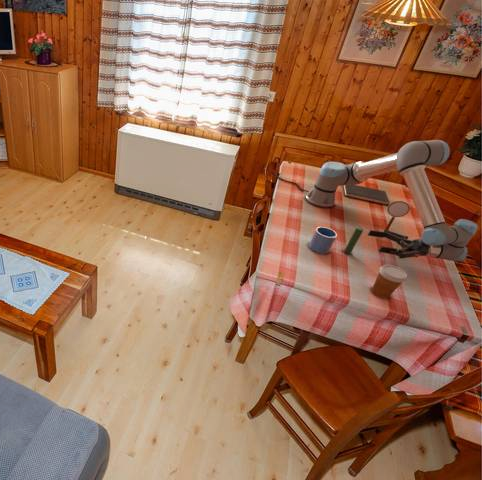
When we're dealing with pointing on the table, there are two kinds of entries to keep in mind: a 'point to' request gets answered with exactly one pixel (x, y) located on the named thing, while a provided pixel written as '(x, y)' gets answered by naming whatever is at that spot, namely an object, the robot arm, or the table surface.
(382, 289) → the disposable coffee cup
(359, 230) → the stick
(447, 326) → the table surface
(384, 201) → the hardcover book
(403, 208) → the magnifying glass
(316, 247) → the tumbler
